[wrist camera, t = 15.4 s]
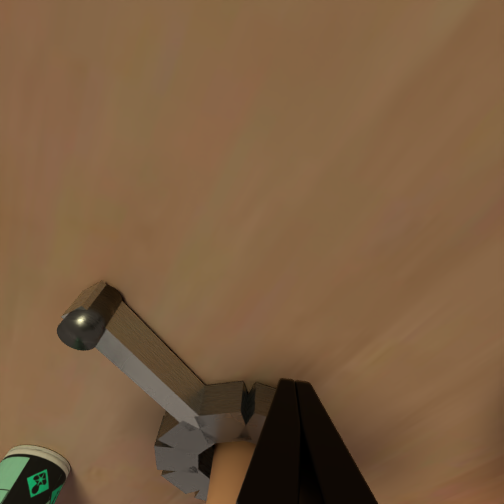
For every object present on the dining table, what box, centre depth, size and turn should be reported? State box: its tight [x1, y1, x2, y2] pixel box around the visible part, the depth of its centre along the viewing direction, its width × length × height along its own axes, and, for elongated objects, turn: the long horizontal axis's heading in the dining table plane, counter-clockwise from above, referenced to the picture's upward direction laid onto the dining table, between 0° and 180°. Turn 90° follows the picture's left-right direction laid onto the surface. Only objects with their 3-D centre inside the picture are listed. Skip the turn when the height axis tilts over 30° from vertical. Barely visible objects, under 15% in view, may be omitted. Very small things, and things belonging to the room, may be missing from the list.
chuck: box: [57, 281, 276, 501], centre depth 21 cm, size 12×22×3 cm, turn 31°
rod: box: [206, 441, 256, 504], centre depth 21 cm, size 4×4×8 cm
